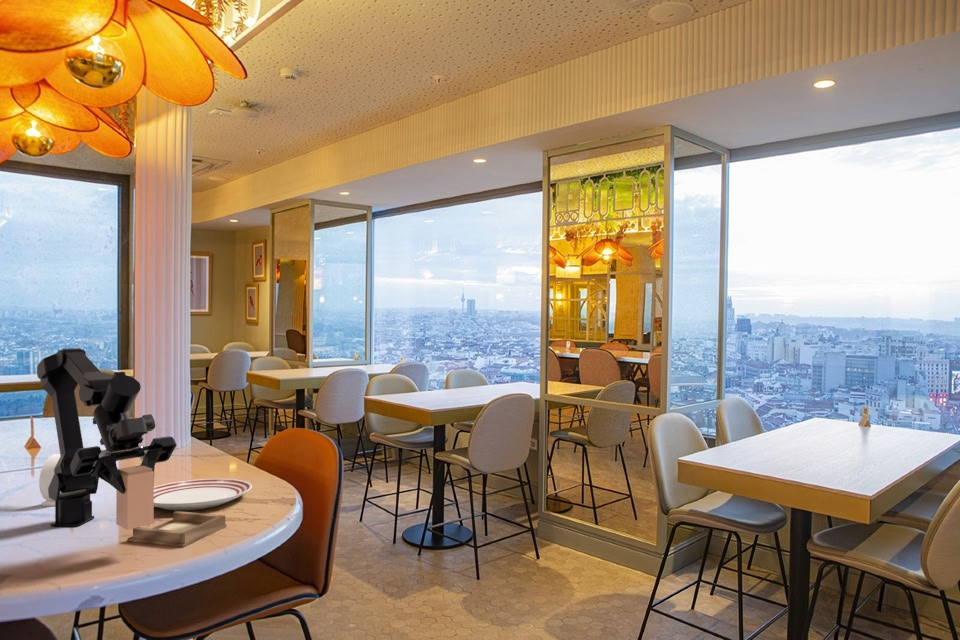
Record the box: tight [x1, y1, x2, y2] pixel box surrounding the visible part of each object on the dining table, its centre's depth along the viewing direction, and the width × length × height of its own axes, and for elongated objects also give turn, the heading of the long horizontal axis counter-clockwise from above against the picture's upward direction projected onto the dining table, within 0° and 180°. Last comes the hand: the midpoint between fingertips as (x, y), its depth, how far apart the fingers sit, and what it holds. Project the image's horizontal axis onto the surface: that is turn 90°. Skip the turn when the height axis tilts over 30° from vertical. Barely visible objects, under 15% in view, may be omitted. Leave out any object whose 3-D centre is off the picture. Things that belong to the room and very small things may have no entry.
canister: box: [115, 464, 155, 531], centre depth 132 cm, size 5×5×11 cm
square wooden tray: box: [127, 510, 227, 548], centre depth 145 cm, size 14×14×3 cm
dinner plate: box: [154, 478, 253, 511], centre depth 171 cm, size 28×27×3 cm
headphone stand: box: [38, 453, 61, 507], centre depth 168 cm, size 5×6×12 cm
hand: (138, 489), depth 131 cm, fingers closed on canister, 5 cm apart
